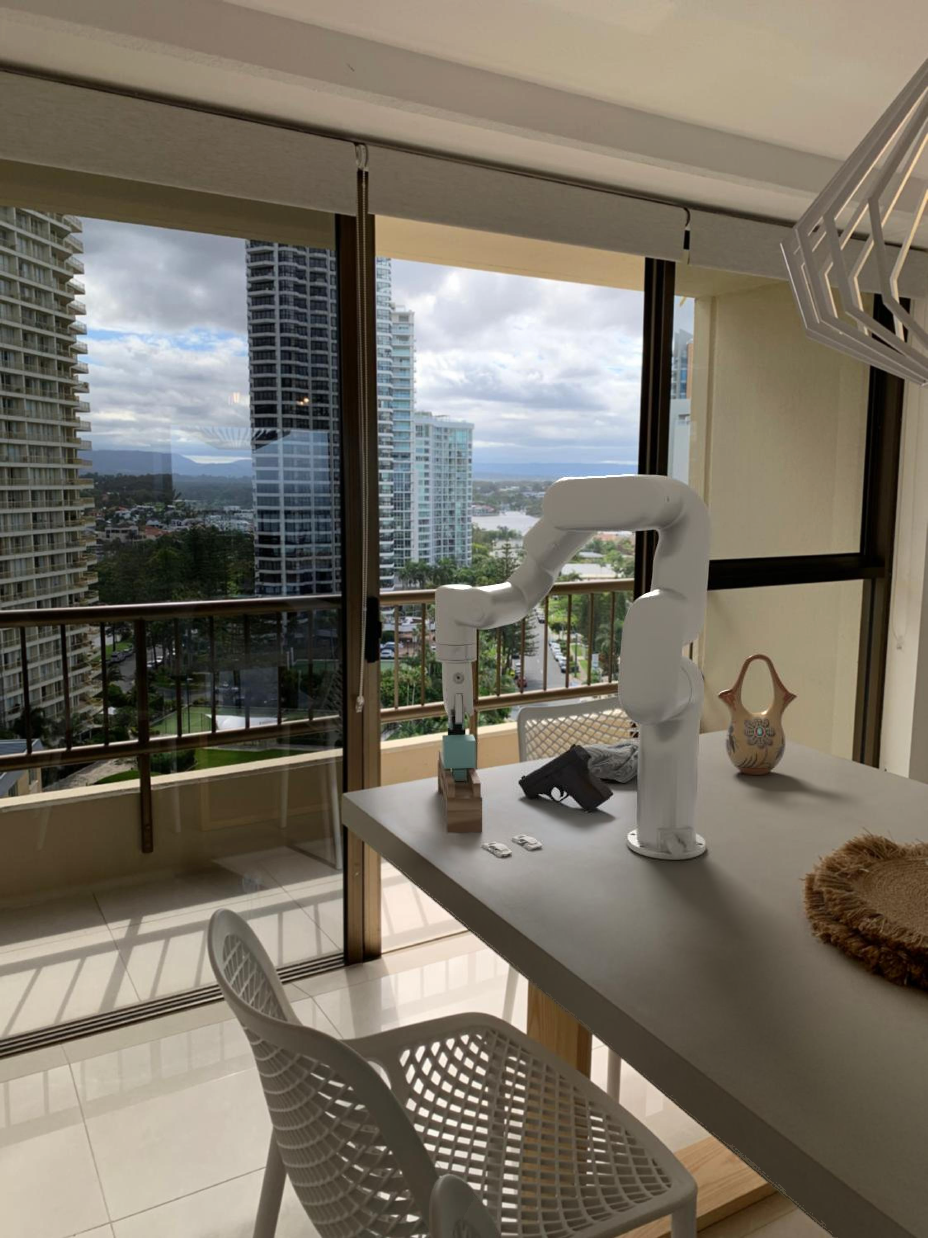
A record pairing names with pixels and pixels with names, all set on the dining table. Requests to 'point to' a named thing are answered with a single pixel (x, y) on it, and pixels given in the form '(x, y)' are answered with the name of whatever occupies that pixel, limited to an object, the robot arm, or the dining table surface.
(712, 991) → the dining table surface
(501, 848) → the white curved pieces
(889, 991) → the dining table surface
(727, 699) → the ceramic vessel
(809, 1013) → the dining table surface
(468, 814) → the beam
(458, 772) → the teal rectangular block
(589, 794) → the handgun
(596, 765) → the decorative stone
